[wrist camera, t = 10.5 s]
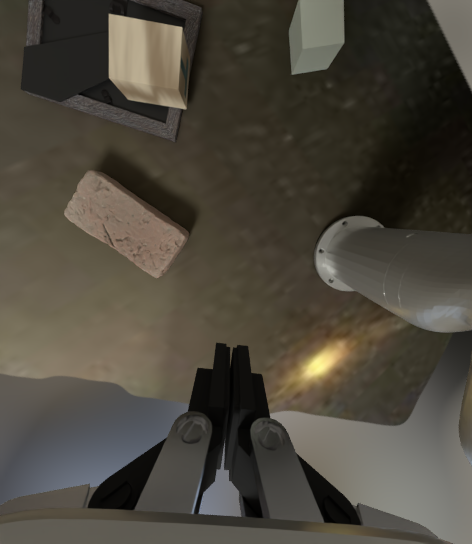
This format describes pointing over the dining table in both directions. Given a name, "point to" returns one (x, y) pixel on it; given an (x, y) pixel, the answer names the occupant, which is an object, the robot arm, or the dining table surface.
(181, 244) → the brick
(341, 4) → the sage block
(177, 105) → the maple block
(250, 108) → the dining table surface
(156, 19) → the picture frame
